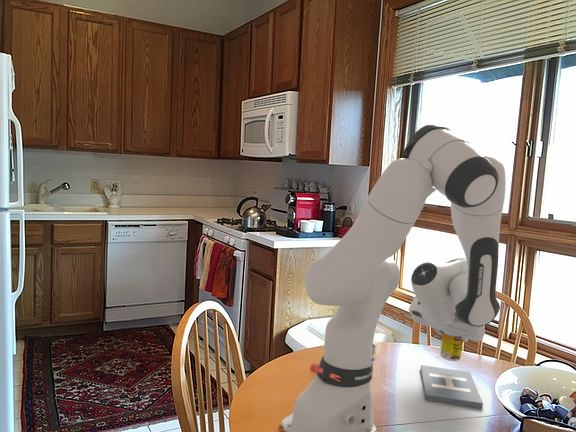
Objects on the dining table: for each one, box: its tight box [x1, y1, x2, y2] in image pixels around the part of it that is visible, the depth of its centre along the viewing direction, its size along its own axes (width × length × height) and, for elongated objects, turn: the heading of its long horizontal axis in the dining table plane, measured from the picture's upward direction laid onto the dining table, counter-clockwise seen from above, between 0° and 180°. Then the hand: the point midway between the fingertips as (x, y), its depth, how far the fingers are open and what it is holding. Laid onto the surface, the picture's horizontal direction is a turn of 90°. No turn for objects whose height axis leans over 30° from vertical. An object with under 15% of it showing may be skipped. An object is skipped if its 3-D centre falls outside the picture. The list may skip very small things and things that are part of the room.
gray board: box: [419, 364, 484, 410], centre depth 134 cm, size 20×14×2 cm
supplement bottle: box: [440, 331, 463, 362], centre depth 140 cm, size 6×6×10 cm
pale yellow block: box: [372, 339, 378, 356], centre depth 152 cm, size 10×9×6 cm
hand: (453, 336), depth 140 cm, fingers closed on supplement bottle, 6 cm apart
